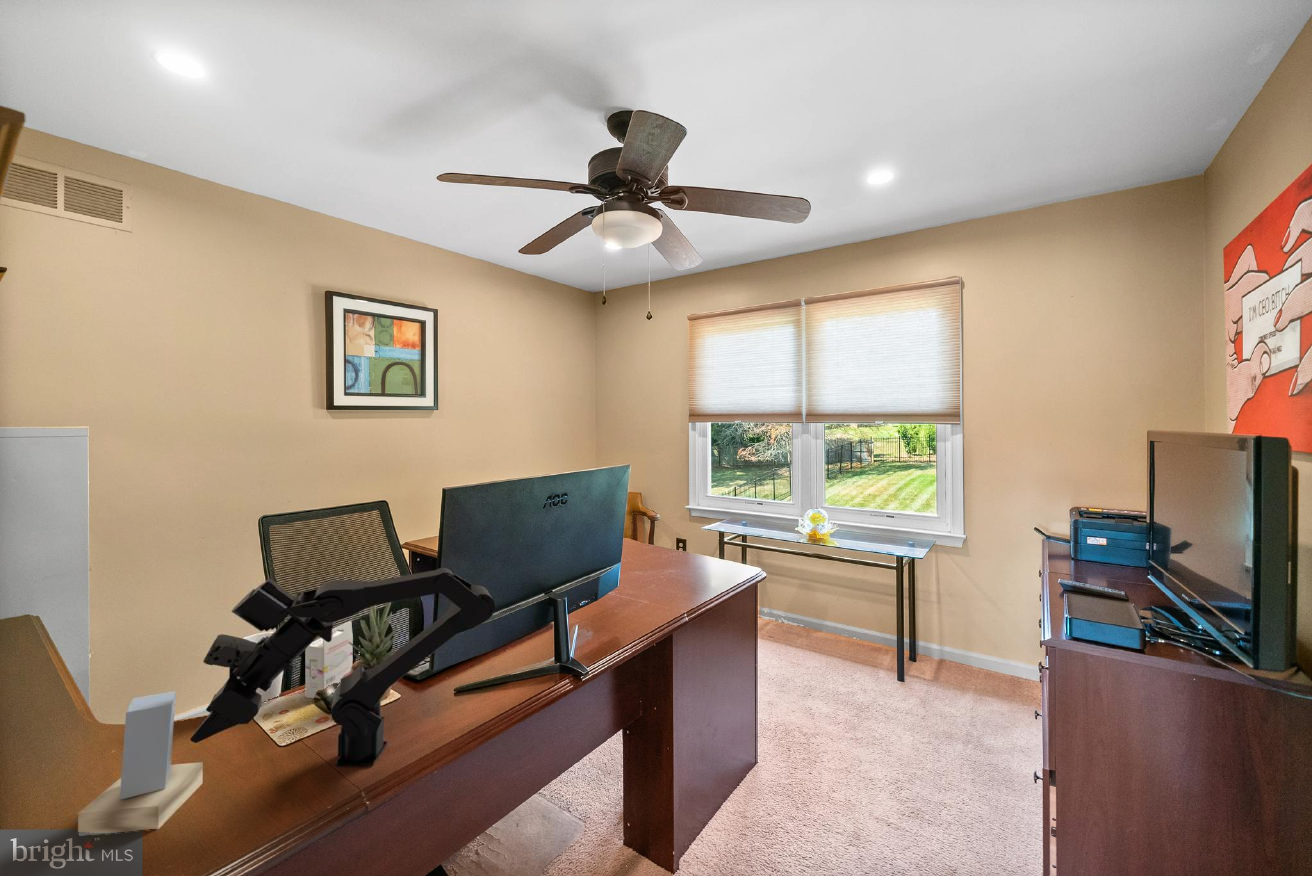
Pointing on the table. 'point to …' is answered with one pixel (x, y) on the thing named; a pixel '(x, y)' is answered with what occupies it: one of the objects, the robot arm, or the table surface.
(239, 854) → the table surface
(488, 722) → the table surface
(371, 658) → the potted plant
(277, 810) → the table surface
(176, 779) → the maple block
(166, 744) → the slate blue pillar
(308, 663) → the ink cartridge box
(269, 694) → the foam cup
